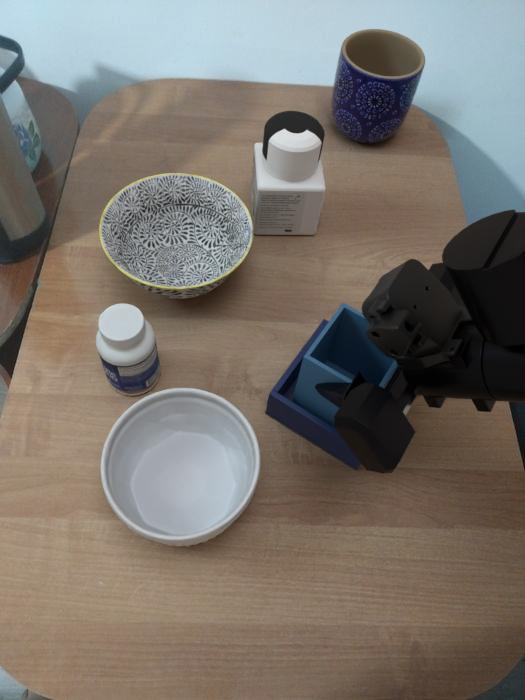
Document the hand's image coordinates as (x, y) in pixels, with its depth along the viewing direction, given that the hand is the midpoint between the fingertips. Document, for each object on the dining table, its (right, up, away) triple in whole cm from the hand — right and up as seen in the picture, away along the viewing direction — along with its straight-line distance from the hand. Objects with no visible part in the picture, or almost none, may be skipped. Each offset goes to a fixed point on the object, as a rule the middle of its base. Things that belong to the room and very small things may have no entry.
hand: (337, 360), depth 52 cm
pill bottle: (-20, -2, +6) cm, 21 cm away
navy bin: (+1, -4, +6) cm, 7 cm away
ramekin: (-14, -12, +1) cm, 18 cm away
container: (-4, +18, +19) cm, 27 cm away
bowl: (-16, +10, +13) cm, 23 cm away
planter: (+8, +33, +29) cm, 44 cm away
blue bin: (+1, -4, +5) cm, 7 cm away
